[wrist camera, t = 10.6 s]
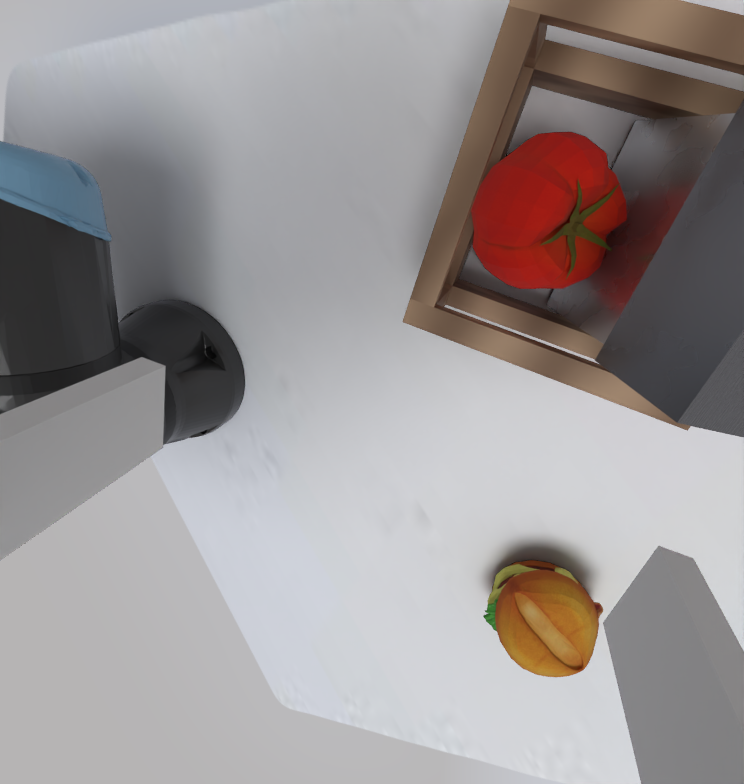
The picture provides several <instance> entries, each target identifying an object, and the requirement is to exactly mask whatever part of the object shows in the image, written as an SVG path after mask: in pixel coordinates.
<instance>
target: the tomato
mask: <svg viewBox="0 0 744 784" xmlns="http://www.w3.org/2000/svg"><path fill="white" fill-rule="evenodd" d="M620 183H621V182H620ZM620 183H619V181H618V179H617V176H616V174H615V173H614V172H613V171H612V170H611V169H609V168H608V162H607V154H606V153H605V152H604V151H603V150H602V149H600V148H599V147H598V146H597V145H596V144H594V143H593V142H592V141H590V140H589V139H588V138H586V137H585V136H582V135H579V134H576V133H573V132H552V133H542V134H537V135H535V136H534V137H532V138H530V139H528V140H527V141H526V142H524V143H523V144H522V145H521V146H519V147H518V148H517V149H515V150H514V151H513V152H512V153H510V154H509V155H508V156H506V157H505V158H504V159H502V160H501V161H500V162H498V163H497V164H496V165H494V166H493V167H492V168H491V170H490V171H489V173H488V174H487V176H486V177H485V179H484V180H483V182H482V183H481V185H480V187H479V189H478V192H477V195H476V198H475V200H474V203H473V206H472V209H471V213H472V220H473V227H474V237H473V249H474V251H475V253H476V255H477V256H478V258H479V259H480V261H481V263H482V264H483V266H484V267H485V269H487V270H488V271H489V272H490V273H491V274H493V275H494V276H495V277H497V278H498V279H500V280H501V281H503V282H504V283H506V284H507V285H510V286H513V287H516V288H519V289H536V288H550V289H563V288H565V287H568V286H570V285H572V284H575V283H577V282H580V281H582V280H584V279H586V278H588V277H590V276H591V275H592V274H593V273H594V272H595V271H596V270H597V269H598V268H599V267H600V265H601V262H602V260H603V257H604V254H605V251H606V249H608V250H610V251H612V250H611V248H610V247H609V246H608V245H607V244H606V235H607V234H609V233H610V232H611V231H613V230H614V229H615V228H617V227H618V226H619V225H621V224H622V223H623V222H625V221H626V220H627V211H626V199H625V197H624V194H623V191H622V189H621V186H620Z"/></svg>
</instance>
